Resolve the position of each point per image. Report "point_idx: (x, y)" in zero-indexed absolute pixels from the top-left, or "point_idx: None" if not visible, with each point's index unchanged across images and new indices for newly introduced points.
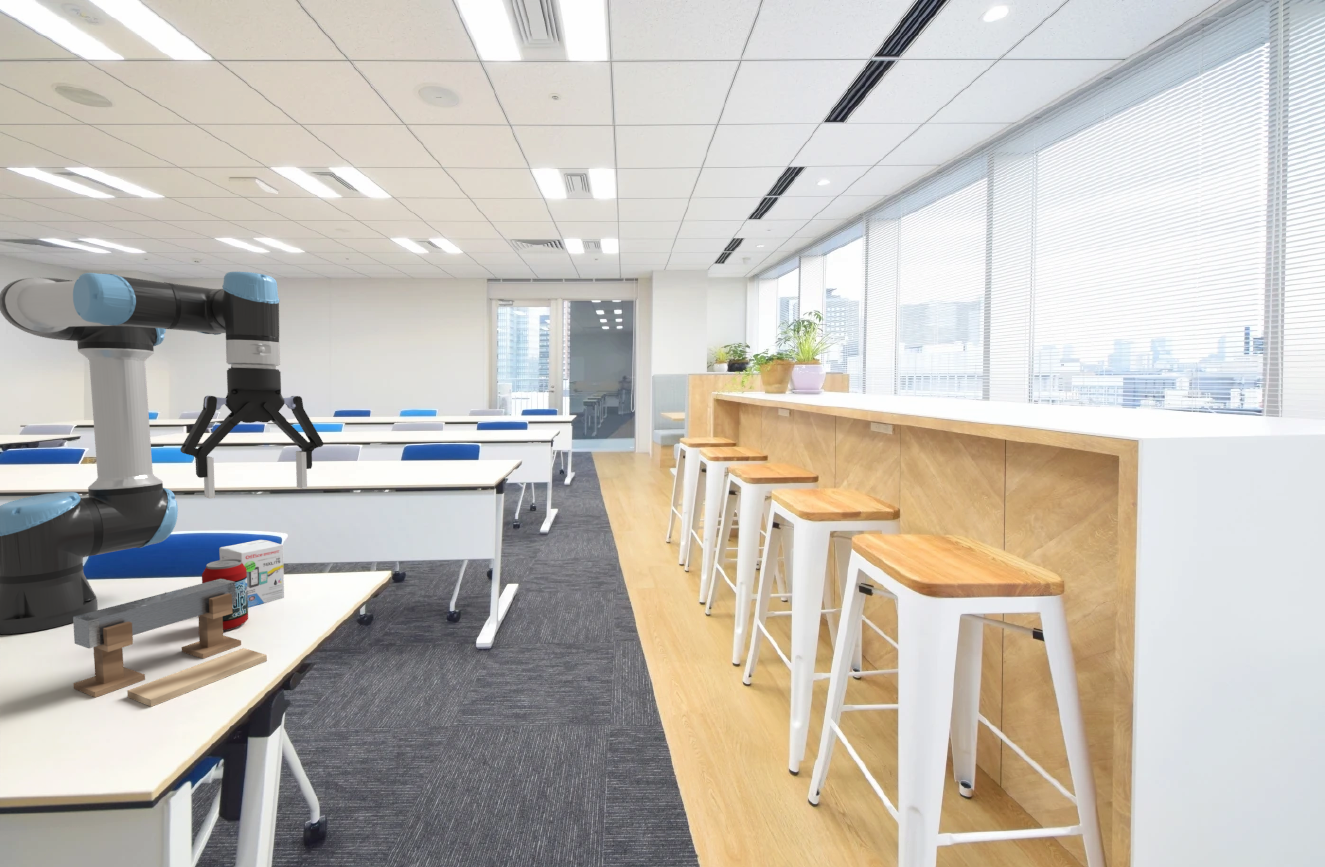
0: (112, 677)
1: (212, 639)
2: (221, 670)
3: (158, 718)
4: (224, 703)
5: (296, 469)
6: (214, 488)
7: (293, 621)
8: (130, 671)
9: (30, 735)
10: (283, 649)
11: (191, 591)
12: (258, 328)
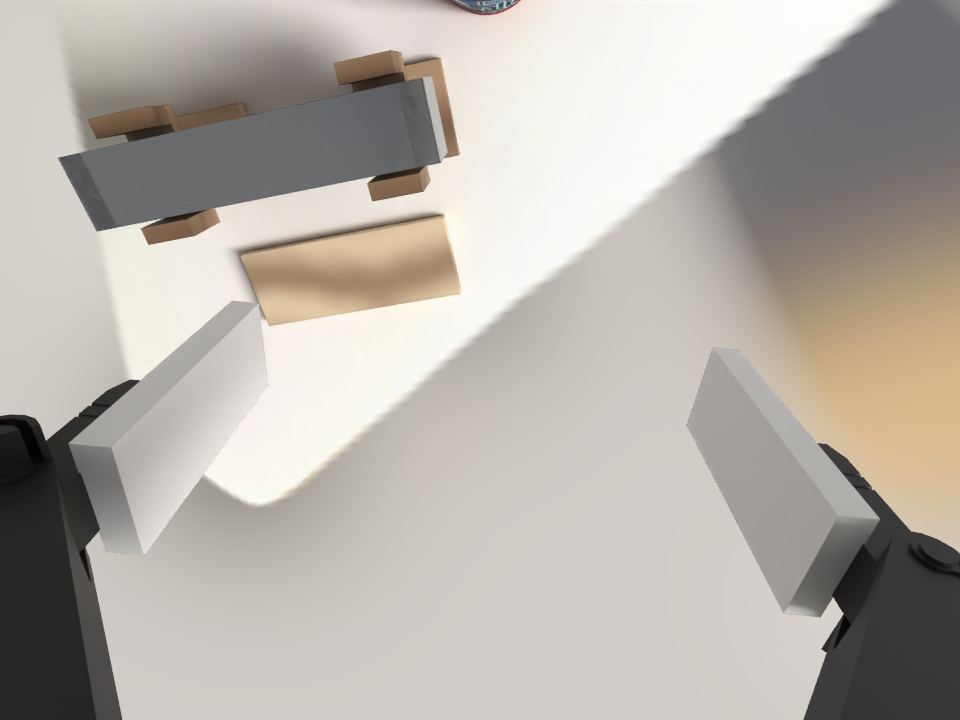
0: None
1: None
2: (378, 299)
3: (278, 366)
4: (358, 392)
5: (757, 415)
6: (247, 413)
7: (612, 85)
8: None
9: (128, 279)
10: (506, 257)
11: (321, 164)
12: None
